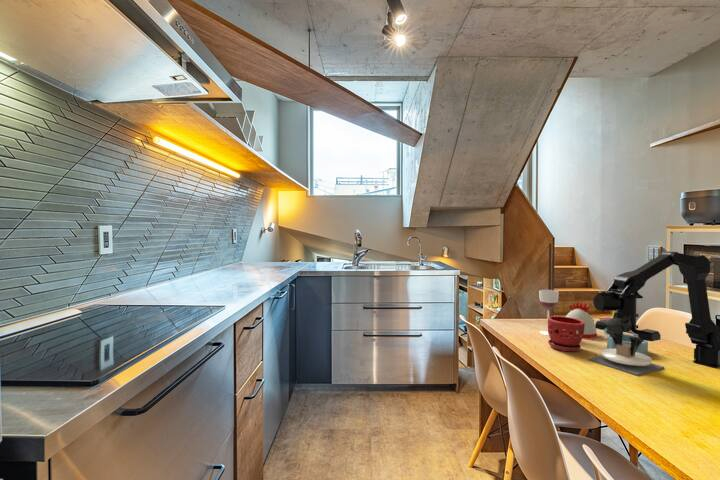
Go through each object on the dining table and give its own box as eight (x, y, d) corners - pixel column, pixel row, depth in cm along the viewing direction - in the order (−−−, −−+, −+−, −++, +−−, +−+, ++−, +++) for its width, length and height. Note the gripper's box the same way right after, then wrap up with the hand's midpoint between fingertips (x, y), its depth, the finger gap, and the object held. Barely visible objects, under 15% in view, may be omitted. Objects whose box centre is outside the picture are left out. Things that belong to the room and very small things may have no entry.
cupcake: (614, 330, 174) (614, 305, 173) (625, 335, 165) (625, 309, 165) (595, 330, 174) (595, 305, 174) (605, 335, 166) (605, 309, 166)
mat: (664, 368, 125) (664, 366, 125) (636, 375, 118) (637, 374, 118) (615, 354, 139) (615, 352, 139) (588, 360, 133) (588, 358, 133)
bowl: (654, 353, 141) (655, 340, 141) (635, 357, 135) (635, 344, 135) (619, 343, 152) (619, 332, 152) (599, 347, 147) (600, 335, 147)
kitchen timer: (593, 339, 158) (594, 306, 158) (559, 334, 167) (559, 302, 167) (598, 333, 169) (598, 301, 169) (565, 328, 178) (565, 298, 178)
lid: (661, 362, 125) (661, 348, 125) (636, 368, 119) (636, 354, 119) (616, 349, 138) (616, 337, 138) (592, 354, 132) (592, 342, 132)
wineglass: (534, 332, 170) (534, 290, 170) (547, 330, 174) (547, 289, 173) (549, 336, 163) (550, 292, 163) (562, 334, 167) (562, 291, 166)
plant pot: (563, 354, 139) (563, 323, 139) (540, 344, 152) (540, 316, 152) (592, 352, 141) (592, 322, 141) (566, 342, 154) (567, 314, 154)
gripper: (586, 307, 134) (585, 349, 134) (642, 318, 117) (641, 365, 117) (604, 305, 138) (604, 345, 138) (661, 315, 121) (661, 360, 121)
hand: (625, 353), depth 129 cm, fingers closed on lid, 4 cm apart
